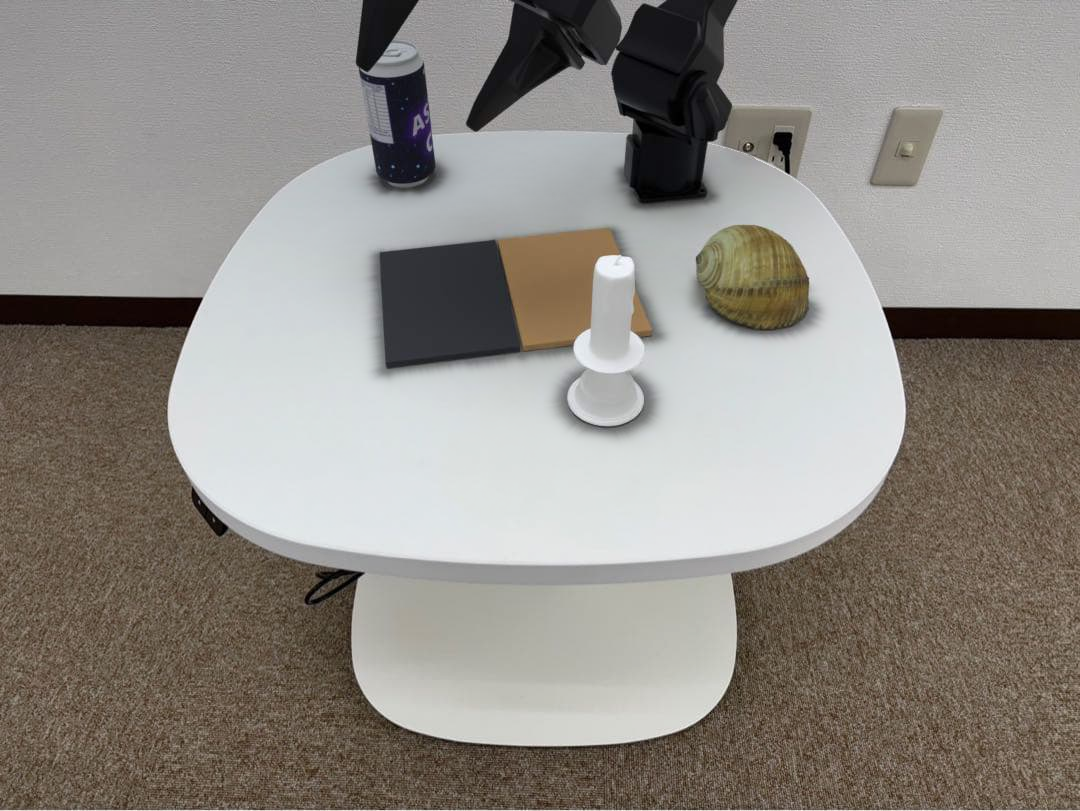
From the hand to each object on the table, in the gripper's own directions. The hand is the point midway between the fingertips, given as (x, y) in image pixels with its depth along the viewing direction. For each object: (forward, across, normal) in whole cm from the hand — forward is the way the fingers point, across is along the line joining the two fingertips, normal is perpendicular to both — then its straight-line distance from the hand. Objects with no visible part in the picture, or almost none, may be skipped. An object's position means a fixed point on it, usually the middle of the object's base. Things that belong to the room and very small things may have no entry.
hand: (414, 98), depth 50 cm
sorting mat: (+9, +6, +15) cm, 18 cm away
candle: (+11, +18, +10) cm, 24 cm away
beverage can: (+5, -13, +24) cm, 28 cm away
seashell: (0, +21, +21) cm, 30 cm away
